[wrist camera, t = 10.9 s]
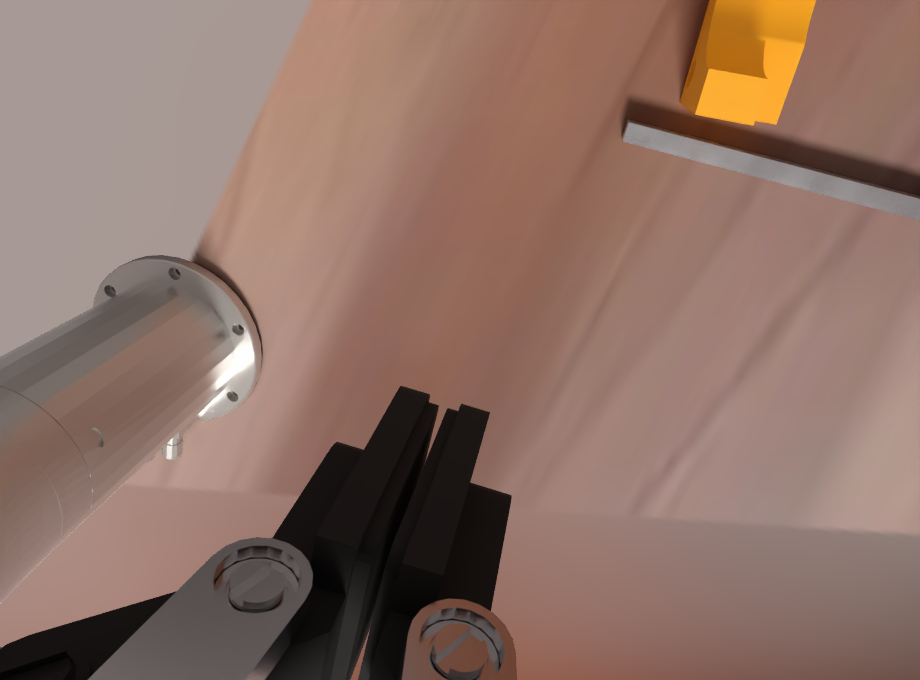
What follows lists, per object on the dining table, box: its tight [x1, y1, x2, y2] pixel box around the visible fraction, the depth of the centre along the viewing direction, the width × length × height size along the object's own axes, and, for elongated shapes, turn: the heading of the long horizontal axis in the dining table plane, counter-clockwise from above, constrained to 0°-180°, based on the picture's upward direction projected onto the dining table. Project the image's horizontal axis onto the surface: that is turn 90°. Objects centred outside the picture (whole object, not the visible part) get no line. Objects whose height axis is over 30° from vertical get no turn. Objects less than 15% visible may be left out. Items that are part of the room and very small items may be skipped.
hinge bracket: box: [622, 119, 920, 220], centre depth 31 cm, size 18×21×2 cm
